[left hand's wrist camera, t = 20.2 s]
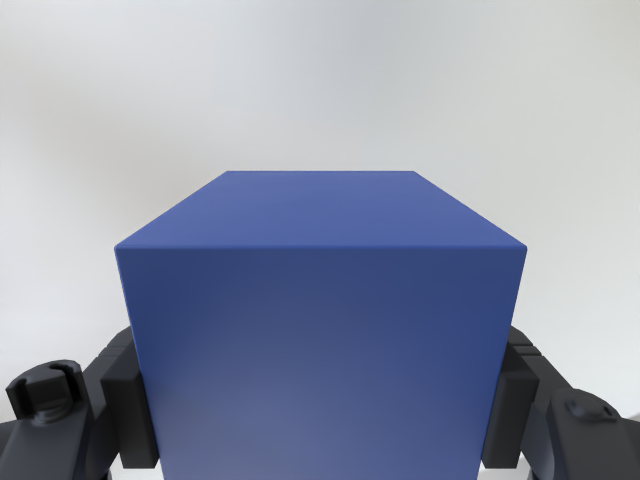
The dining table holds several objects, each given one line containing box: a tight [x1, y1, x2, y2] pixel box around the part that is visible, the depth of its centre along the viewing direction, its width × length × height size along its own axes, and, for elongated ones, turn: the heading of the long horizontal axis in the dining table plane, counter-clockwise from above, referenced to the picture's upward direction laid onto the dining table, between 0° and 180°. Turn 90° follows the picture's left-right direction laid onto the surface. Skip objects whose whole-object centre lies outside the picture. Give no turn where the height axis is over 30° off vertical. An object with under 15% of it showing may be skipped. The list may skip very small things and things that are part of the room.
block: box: [114, 171, 527, 480], centre depth 13 cm, size 9×8×9 cm
